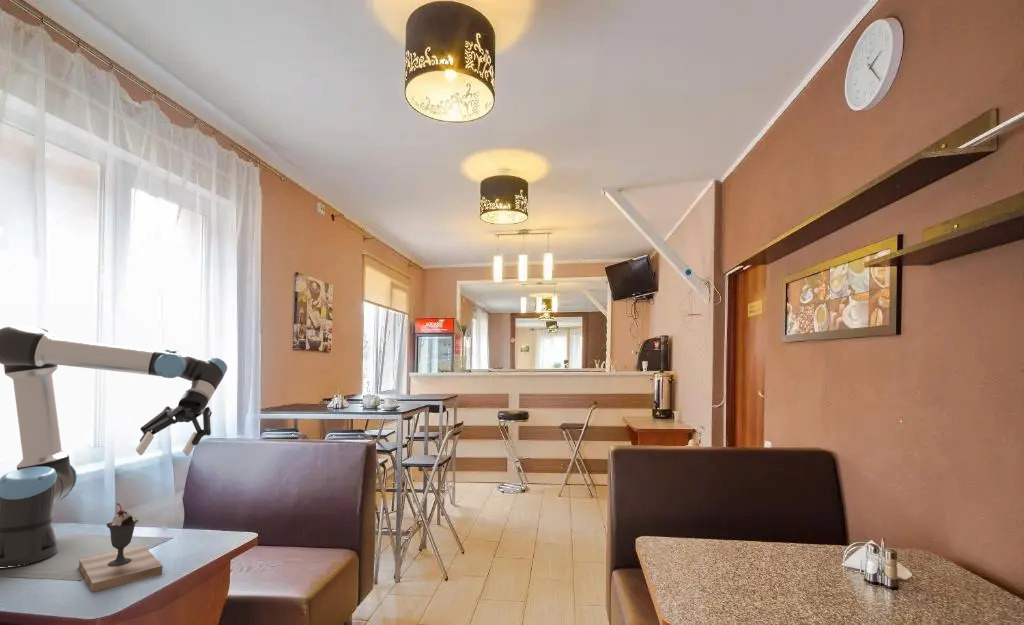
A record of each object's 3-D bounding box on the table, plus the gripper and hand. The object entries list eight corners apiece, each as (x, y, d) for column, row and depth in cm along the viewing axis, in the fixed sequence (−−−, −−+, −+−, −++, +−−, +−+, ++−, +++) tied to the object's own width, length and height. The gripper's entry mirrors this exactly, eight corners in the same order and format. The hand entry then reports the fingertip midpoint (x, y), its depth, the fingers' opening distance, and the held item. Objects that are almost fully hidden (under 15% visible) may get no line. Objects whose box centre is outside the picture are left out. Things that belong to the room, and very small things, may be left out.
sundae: (107, 559, 132) (112, 501, 133) (138, 555, 135) (142, 498, 136) (99, 569, 126) (104, 508, 127) (131, 565, 129) (136, 505, 130)
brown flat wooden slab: (78, 567, 132) (79, 559, 132) (143, 552, 142) (143, 545, 142) (91, 592, 118) (92, 583, 118) (162, 573, 128) (162, 565, 129)
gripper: (238, 405, 166) (209, 460, 150) (162, 404, 165) (125, 459, 149) (231, 390, 161) (200, 446, 145) (153, 389, 161) (113, 444, 144)
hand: (162, 453), depth 147 cm, fingers open, 13 cm apart
